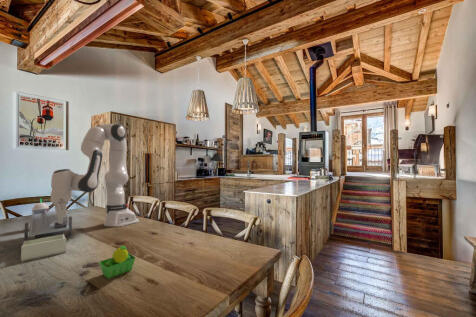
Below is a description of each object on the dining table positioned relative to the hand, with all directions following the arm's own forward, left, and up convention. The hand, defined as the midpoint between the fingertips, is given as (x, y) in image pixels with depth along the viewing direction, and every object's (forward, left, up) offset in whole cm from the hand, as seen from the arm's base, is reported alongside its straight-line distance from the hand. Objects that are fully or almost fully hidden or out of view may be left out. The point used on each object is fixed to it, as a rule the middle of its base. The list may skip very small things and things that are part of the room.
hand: (60, 223), depth 119 cm
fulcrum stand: (+4, -11, -10) cm, 16 cm away
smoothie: (+8, -39, -11) cm, 41 cm away
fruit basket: (-16, +58, -11) cm, 61 cm away
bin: (+6, +12, -10) cm, 17 cm away
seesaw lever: (+4, -11, 0) cm, 12 cm away
